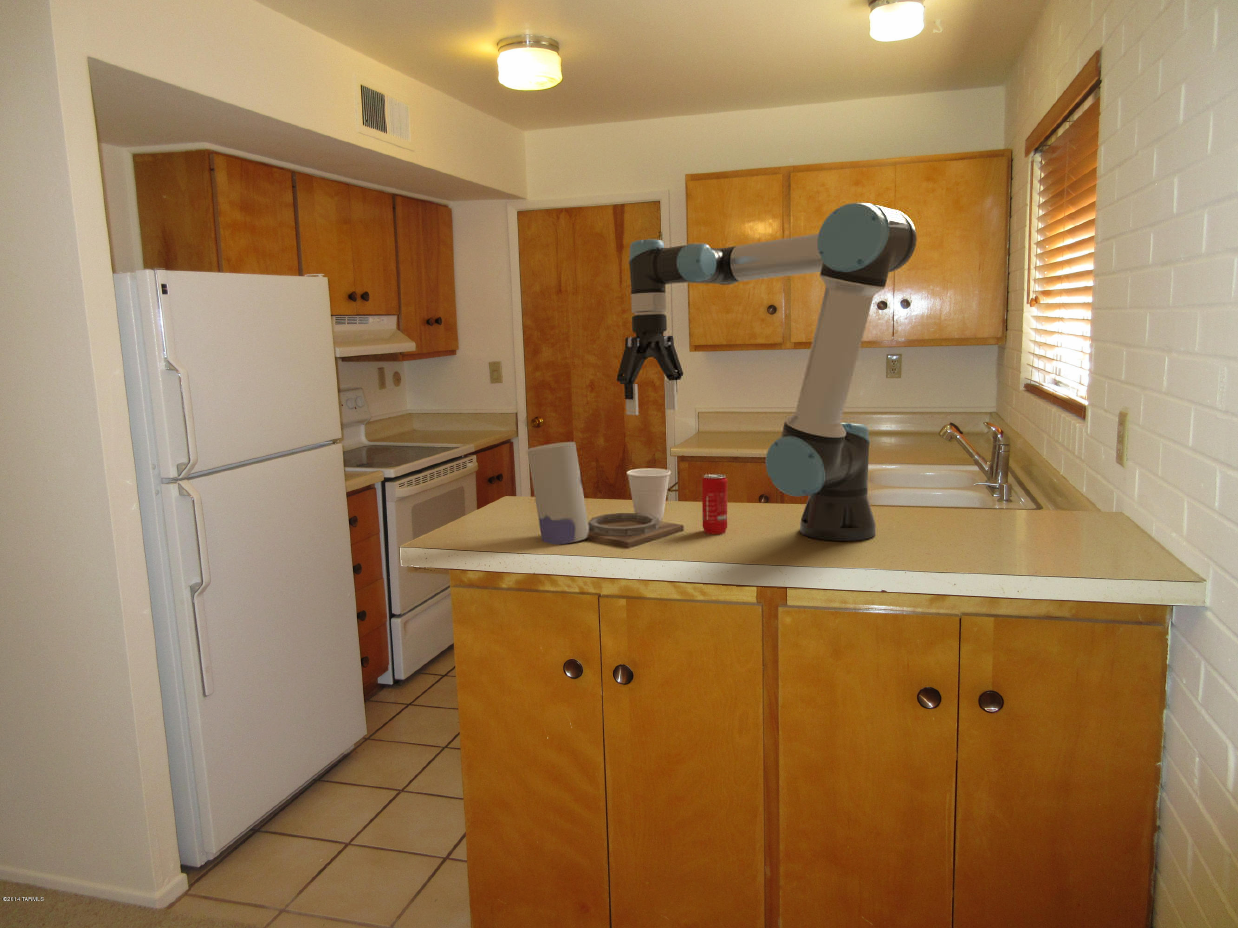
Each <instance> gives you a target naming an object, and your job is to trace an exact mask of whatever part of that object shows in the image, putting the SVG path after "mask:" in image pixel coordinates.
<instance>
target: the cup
mask: <svg viewBox="0 0 1238 928" xmlns="http://www.w3.org/2000/svg"><path fill="white" fill-rule="evenodd" d="M671 472H672V471H670V470H669V469H665V468H664V469H663V468H654V467H653V468H645V467H644V468H637V469H636V468H635V469H631V470H627V472H626V475H627V478H628V484H629V488H630V489H629V490H630V494H631V499H632V504H633V511H634V512H633V513H640V514H646V515H652V516H654V517H656V518H658V519H659V521H662V520H663V519H664V514H665V508H666V507H665V506H666V500H667V493H668V487H669V481H670V475H671Z"/></svg>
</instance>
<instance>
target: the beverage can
mask: <svg viewBox="0 0 1238 928" xmlns="http://www.w3.org/2000/svg"><path fill="white" fill-rule="evenodd" d="M701 480H702V481H701V486H702V493H701V496H702V498H701V504H702V506H701V507H702V518H701V520H702V528H703V532H704V534H707V535H722V534H725V533H726V531H727V529H728V479H727V475H726V474H722V473H721V474H720V473H708V474H705V475H703V478H702V479H701Z"/></svg>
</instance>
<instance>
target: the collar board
mask: <svg viewBox="0 0 1238 928" xmlns="http://www.w3.org/2000/svg"><path fill="white" fill-rule="evenodd" d="M588 526H589V534H588V538H586V539H585V540H587V541H591V542H596V543H602V544H606V545H611V546H612V545H613V546H617V547H622V548H627V549H631V548H633V547H638V546H640V545H643V544H647V543H649V542H652V541H655V540H659V539H661V538H665V537H667V536H672V535H675V534H678V533H681V532H683V531H684V530H685V528H684V527H685V526H684V524H679V523H672V522H668V521H662V520H661V521H659V519H658V518H656V517H654V516H652V515H646V514H640V513H635V512H617V513H607V514H606V513H605V514H602V515H598V516H595V517H594V516H593V517H591V519H589V521H588Z"/></svg>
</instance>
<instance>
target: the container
mask: <svg viewBox="0 0 1238 928" xmlns="http://www.w3.org/2000/svg"><path fill="white" fill-rule="evenodd" d="M526 451H527V457H528V462H529V470H530V476H531V482H532V487H533V492H534V493H533V494H534V499H535V500H534V501H535V506H536V511H537V518H538V524H539V529H540V530H539V531H540V535H541V536H540V537H541V541H542V542H544V543H546V544H549V545H550V544H551V545H564V544H570V543H576V542H579V541H583V540H586V538H588V534H589V526H588V523H589V521H588V514H587V508H586V502H585V497H584V495H585V494H584V490H583V483H582V477H581V471H580V470H581V469H580V465H579V458H578V452H577V445H576V442H575V441H566V442H565V441H564V442H556V443H550V444H549V443H548V444H544V445H540V446H534V447H530V448H528V449H527V450H526Z"/></svg>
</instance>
